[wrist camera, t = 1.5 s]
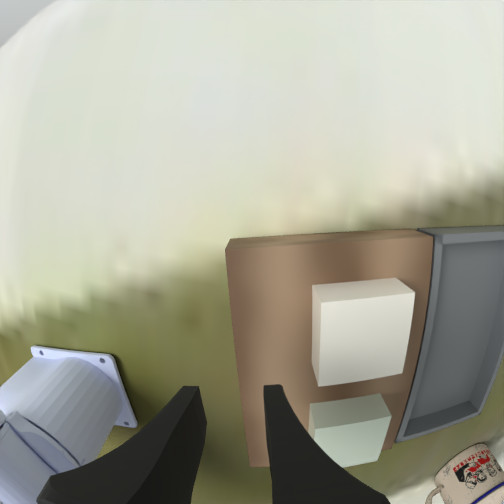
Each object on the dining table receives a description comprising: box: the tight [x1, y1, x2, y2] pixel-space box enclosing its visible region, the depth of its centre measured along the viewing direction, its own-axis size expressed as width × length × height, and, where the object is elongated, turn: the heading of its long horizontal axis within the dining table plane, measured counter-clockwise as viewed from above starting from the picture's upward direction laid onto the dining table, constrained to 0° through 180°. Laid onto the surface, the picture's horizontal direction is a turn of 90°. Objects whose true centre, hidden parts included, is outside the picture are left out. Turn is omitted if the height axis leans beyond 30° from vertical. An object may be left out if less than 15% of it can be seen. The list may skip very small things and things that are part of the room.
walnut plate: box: [225, 229, 433, 467], centre depth 19 cm, size 12×18×3 cm, turn 4°
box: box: [394, 225, 504, 443], centre depth 19 cm, size 10×18×2 cm, turn 4°
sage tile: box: [308, 393, 391, 467], centre depth 17 cm, size 5×5×2 cm
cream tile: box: [312, 278, 415, 387], centre depth 15 cm, size 5×5×2 cm
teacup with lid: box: [425, 444, 504, 504], centre depth 19 cm, size 12×9×12 cm
